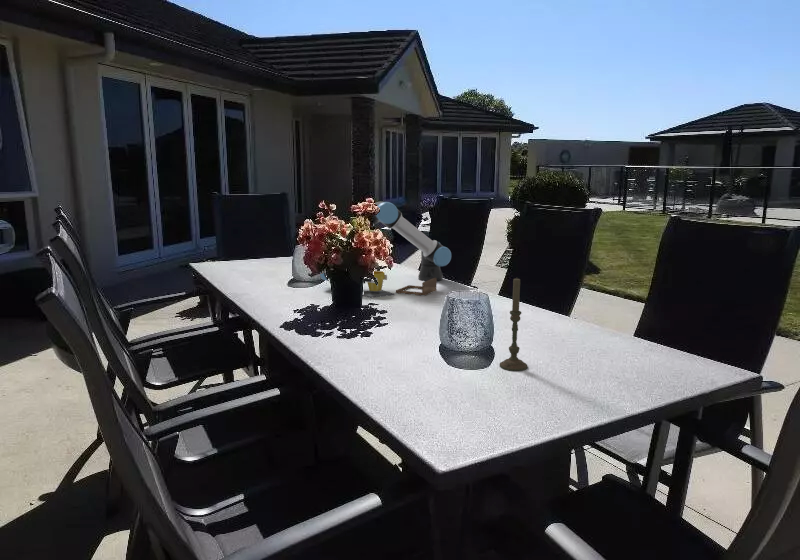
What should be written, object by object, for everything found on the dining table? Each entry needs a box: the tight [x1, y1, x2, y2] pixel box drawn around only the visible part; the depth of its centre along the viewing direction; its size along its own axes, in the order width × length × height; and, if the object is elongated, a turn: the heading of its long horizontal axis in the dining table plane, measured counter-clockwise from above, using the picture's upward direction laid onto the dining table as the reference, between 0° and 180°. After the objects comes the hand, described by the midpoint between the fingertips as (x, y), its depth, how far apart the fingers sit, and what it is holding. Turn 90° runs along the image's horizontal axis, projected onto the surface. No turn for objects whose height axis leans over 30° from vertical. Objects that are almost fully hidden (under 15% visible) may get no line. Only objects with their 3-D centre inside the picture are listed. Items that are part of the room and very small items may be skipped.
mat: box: [363, 289, 395, 299], centre depth 300 cm, size 15×15×1 cm
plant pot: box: [366, 270, 386, 291], centre depth 299 cm, size 10×10×10 cm
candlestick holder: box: [499, 278, 529, 372], centre depth 180 cm, size 9×9×30 cm
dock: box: [395, 278, 437, 296], centre depth 305 cm, size 17×17×7 cm
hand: (381, 278), depth 297 cm, fingers closed on plant pot, 10 cm apart
